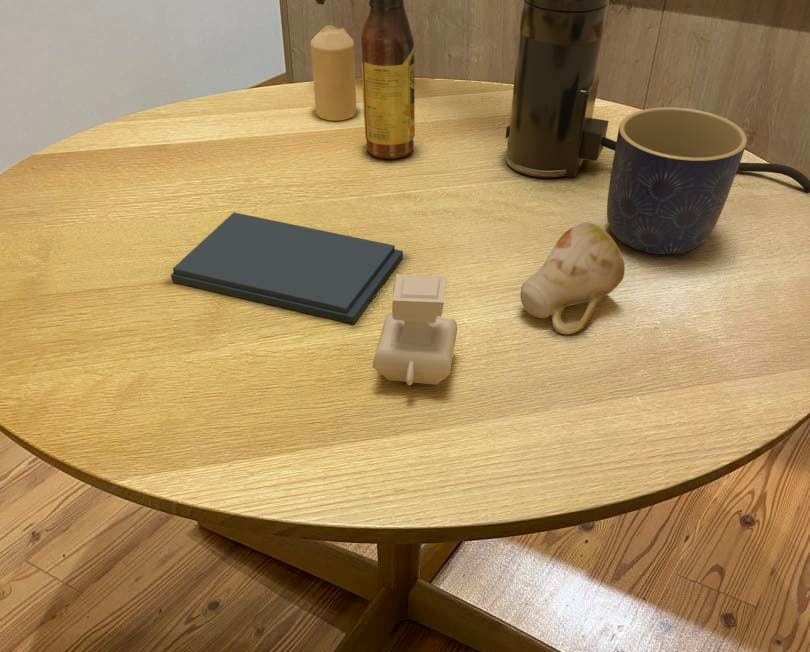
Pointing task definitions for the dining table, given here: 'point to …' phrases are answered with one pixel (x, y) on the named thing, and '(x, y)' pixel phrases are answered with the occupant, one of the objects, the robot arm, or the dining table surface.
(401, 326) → the beige blocky piece
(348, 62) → the candle
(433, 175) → the dining table surface
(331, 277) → the dark grey rectangular slab
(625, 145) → the planter
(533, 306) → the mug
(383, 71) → the sauce bottle
